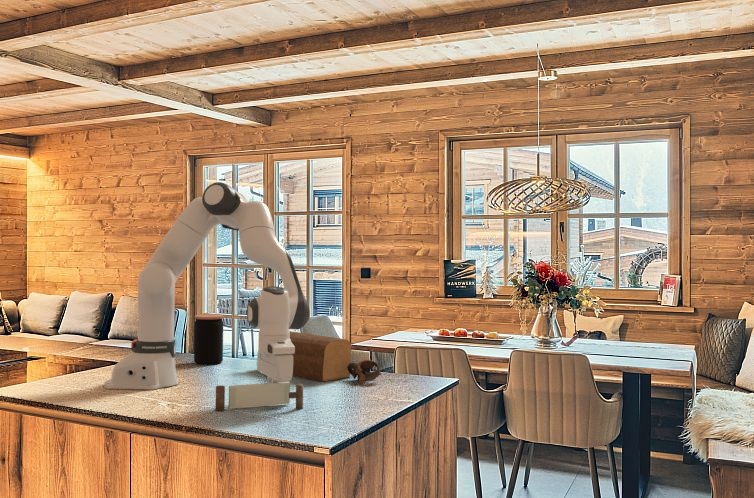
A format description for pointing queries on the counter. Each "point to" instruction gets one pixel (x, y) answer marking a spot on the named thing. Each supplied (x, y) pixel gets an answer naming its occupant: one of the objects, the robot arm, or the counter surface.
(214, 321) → the coffee jar
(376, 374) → the pottery mug
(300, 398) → the post
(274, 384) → the gate
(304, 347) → the bread
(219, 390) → the hinge post
